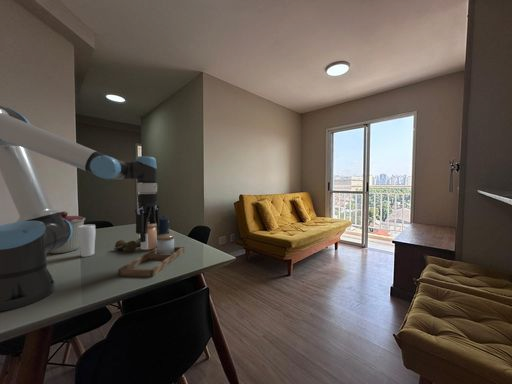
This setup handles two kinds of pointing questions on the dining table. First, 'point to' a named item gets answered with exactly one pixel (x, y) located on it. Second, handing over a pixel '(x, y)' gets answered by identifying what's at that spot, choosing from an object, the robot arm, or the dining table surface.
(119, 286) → the dining table surface
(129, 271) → the caddy
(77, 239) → the canister
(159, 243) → the white lidded jar
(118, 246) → the kendama
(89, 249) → the white tall cup
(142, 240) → the robot arm
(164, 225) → the canister
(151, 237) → the tan domed cylinder
